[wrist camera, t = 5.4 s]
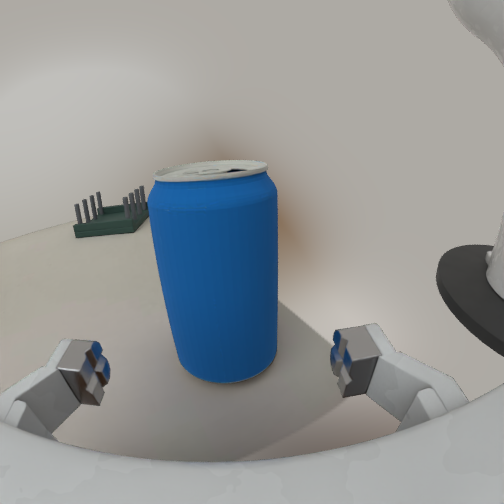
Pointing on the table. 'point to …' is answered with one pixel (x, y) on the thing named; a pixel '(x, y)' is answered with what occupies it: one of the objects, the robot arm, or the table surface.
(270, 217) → the beverage can
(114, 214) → the drying rack
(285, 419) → the table surface
